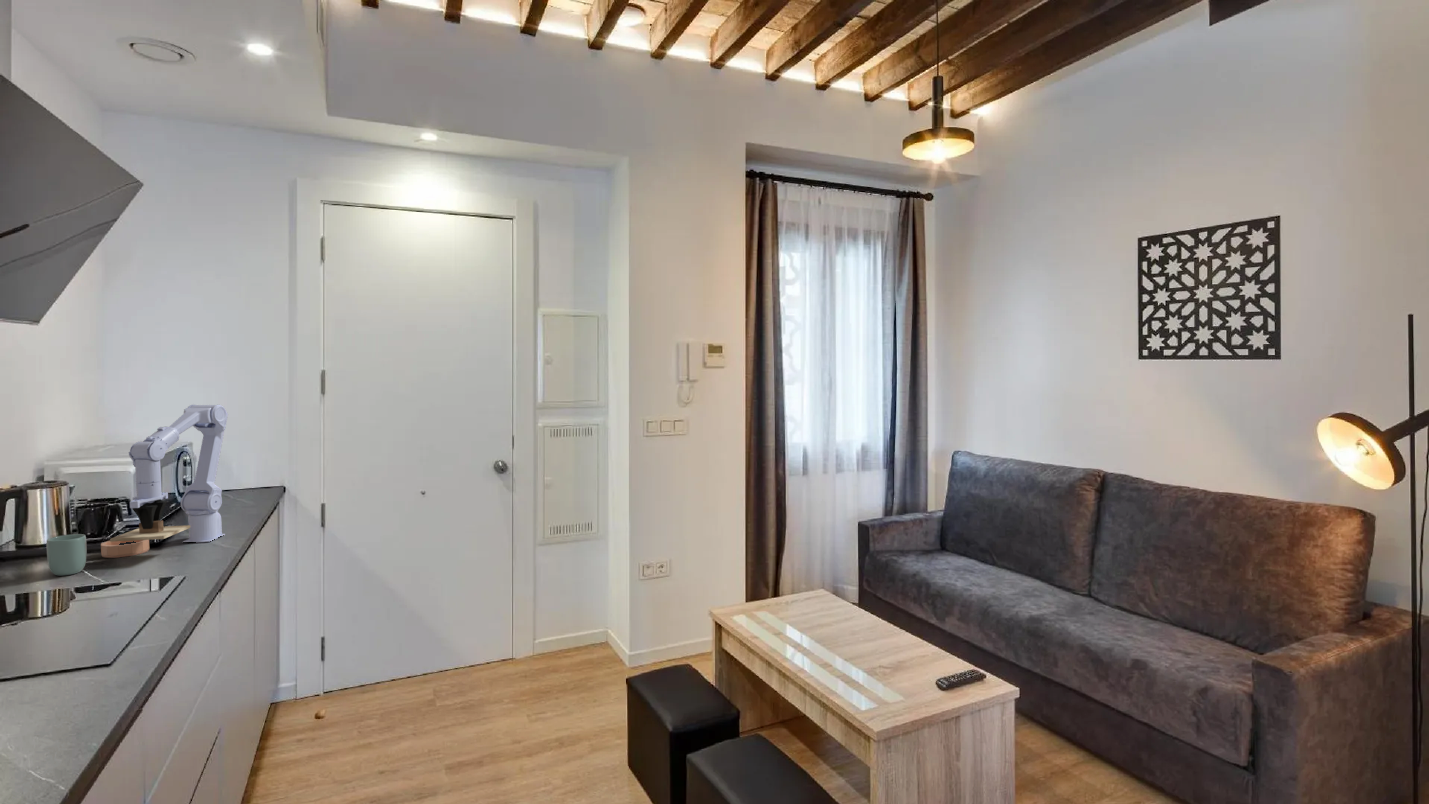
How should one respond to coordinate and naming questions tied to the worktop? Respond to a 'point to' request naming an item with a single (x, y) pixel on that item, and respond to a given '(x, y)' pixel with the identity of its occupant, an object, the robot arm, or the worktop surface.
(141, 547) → the dish
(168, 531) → the lid
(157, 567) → the worktop surface
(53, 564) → the cup
